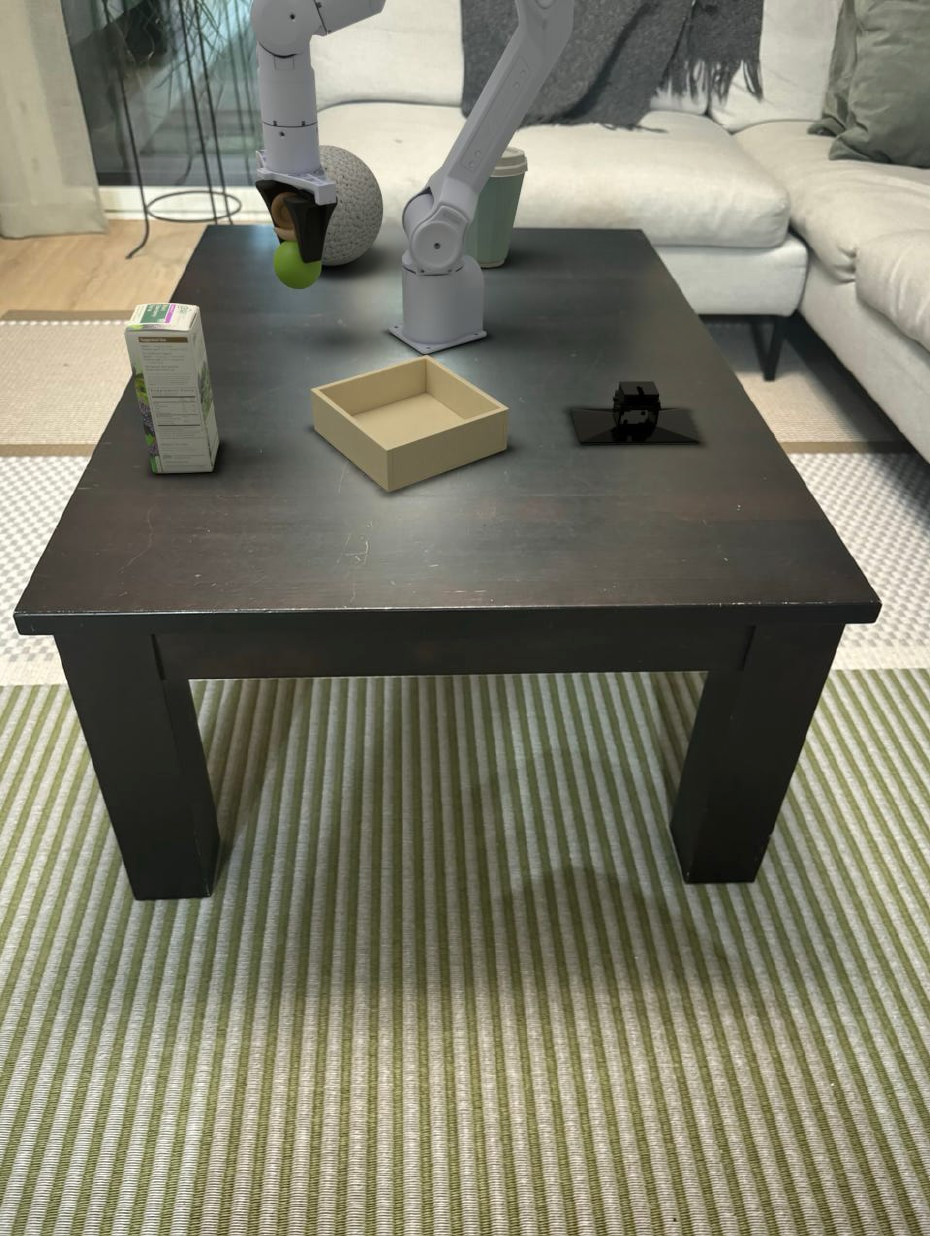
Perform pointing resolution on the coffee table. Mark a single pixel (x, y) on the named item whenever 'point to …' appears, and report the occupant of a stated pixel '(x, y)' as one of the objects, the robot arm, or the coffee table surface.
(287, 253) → the snail figurine
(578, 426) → the build plate
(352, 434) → the tray
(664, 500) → the coffee table surface
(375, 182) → the decorative ball
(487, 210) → the disposable coffee cup
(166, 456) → the syrup box
